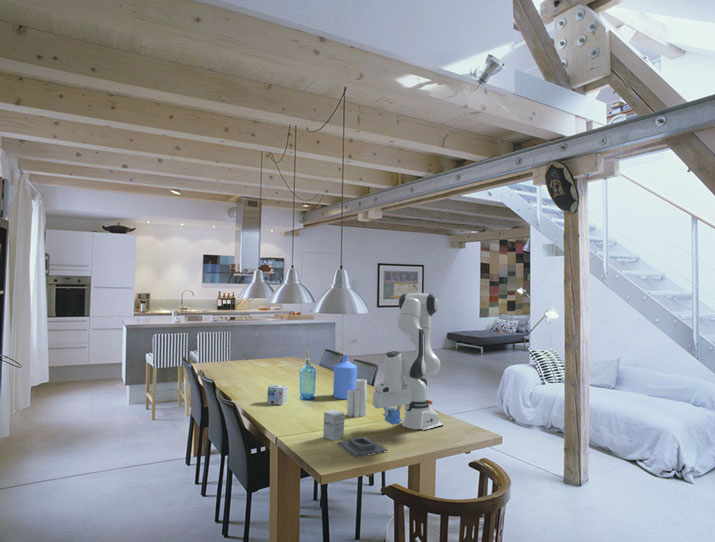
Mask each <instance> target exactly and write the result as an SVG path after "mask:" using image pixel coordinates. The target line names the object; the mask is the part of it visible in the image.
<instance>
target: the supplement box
mask: <svg viewBox="0 0 715 542" xmlns="http://www.w3.org/2000/svg"><path fill="white" fill-rule="evenodd" d="M344 433H345V412H343V411H340V410H337V409H331V410H326V411H324V412H323V435H322V436H323V438H324V439H326V440H330V441H332V442H335V440H336V441H338V440H339V441H340V440H342V439H344V436H345V435H344Z"/></svg>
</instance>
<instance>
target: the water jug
mask: <svg viewBox="0 0 715 542" xmlns="http://www.w3.org/2000/svg"><path fill="white" fill-rule="evenodd" d="M342 359H343V361H341V362H339V363H336V364H335V365H334V366H333V382H332V383H333V389H332V390H333V391H332V396H333V398H335V399H339V400H347V391H349V390H355V389H356V380H357V375H358V374H357V373H358V367H357V365H355V364H353V363H352V362H351V361H349V355H348V354H344V355H343V358H342Z"/></svg>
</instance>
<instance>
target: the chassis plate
mask: <svg viewBox="0 0 715 542" xmlns="http://www.w3.org/2000/svg"><path fill="white" fill-rule="evenodd" d="M337 445H338V446H339V445H340V446H339V447H341V448H342V447H343V448H344V449H343V448H342V449H343V450H345V451H346V450H347V451H346V452H348V453H349V452H350V453H351V454H350V453H349V454H350V455H352V456H353V455H354V456H355V457H354V456H353V457H354V458H359V457H358V456H362V457H365V456H364V455H367V456H369V455H368V454H373V453H379V452H384V451H387V452H388V449H386V448H385V447H383V446H381V445H380V444H378V443H377V442H375V441H374V440H372V439H371V438H369V437H365V436H362V437H356V438H355V437H354V438H349V439H348V440H343V441H337ZM379 454H380V453H379ZM373 455H374V454H373Z"/></svg>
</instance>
